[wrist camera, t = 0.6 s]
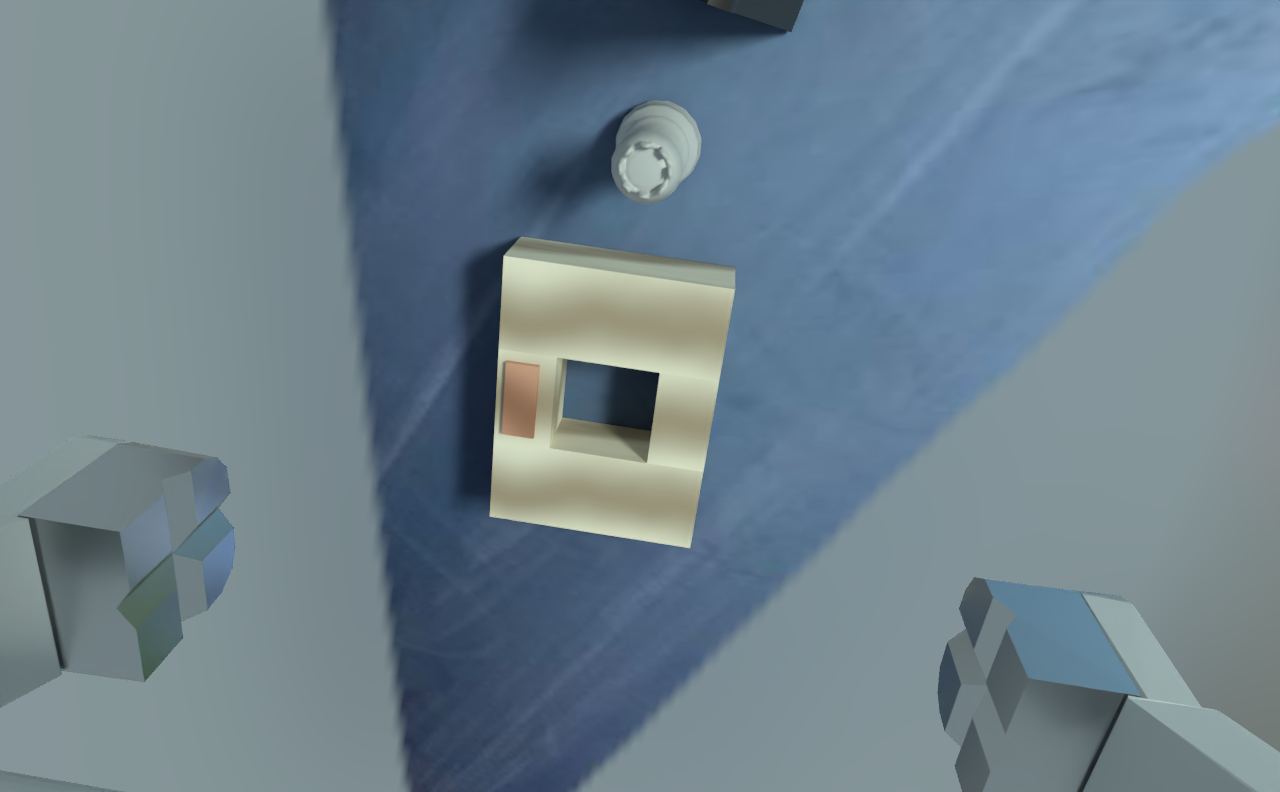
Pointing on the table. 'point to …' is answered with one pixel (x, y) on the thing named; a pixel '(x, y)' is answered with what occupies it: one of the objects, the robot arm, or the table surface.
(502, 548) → the table surface
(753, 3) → the phone stand
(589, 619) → the table surface
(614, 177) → the rook chess piece
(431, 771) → the table surface
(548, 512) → the socket block
